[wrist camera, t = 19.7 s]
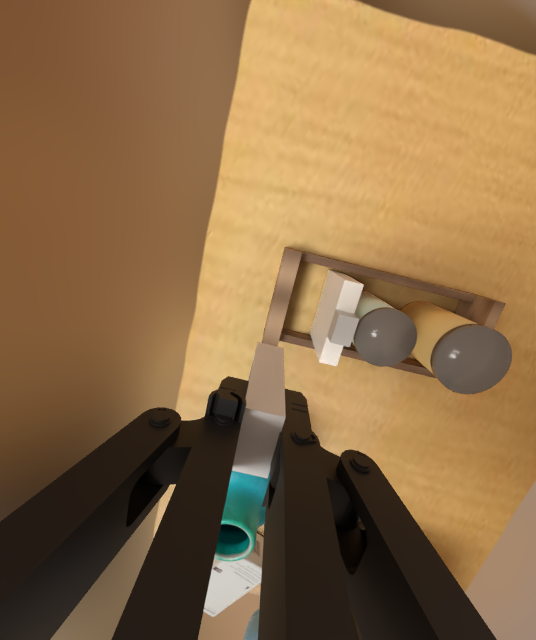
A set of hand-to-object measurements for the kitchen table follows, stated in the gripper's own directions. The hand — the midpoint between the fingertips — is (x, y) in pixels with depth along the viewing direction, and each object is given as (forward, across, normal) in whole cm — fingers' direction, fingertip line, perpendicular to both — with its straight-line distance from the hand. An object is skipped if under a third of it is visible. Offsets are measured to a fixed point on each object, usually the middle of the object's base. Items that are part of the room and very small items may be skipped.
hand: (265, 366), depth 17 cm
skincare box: (+22, -7, +42) cm, 48 cm away
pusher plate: (+24, -7, 0) cm, 25 cm away
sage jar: (+24, -12, 0) cm, 27 cm away
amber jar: (+24, -21, 0) cm, 32 cm away
